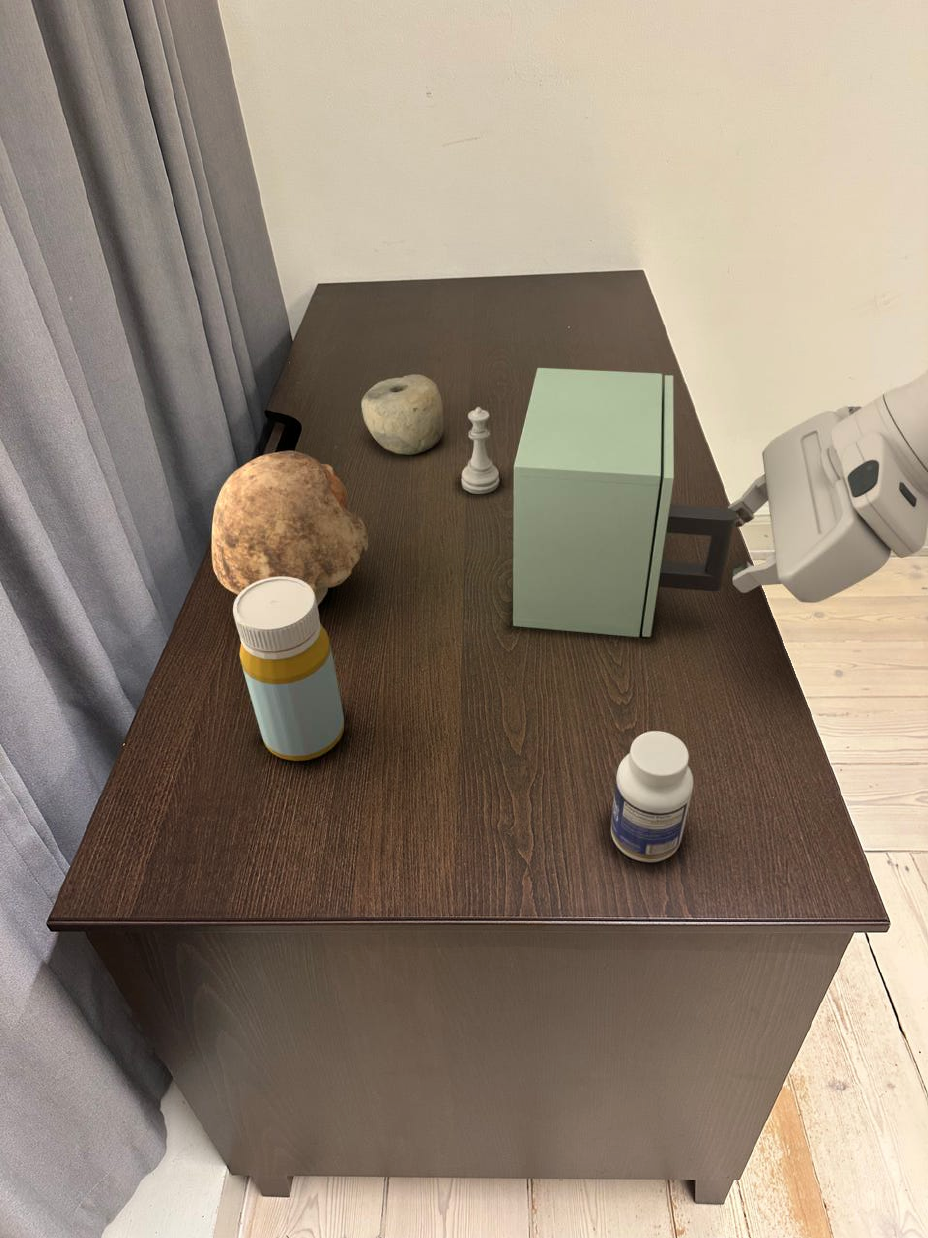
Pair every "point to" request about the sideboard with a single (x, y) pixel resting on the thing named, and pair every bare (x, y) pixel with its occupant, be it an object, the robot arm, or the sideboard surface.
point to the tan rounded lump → (285, 525)
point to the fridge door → (683, 529)
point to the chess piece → (479, 458)
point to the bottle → (289, 668)
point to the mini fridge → (586, 500)
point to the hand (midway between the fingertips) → (733, 549)
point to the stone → (404, 414)
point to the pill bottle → (652, 797)
